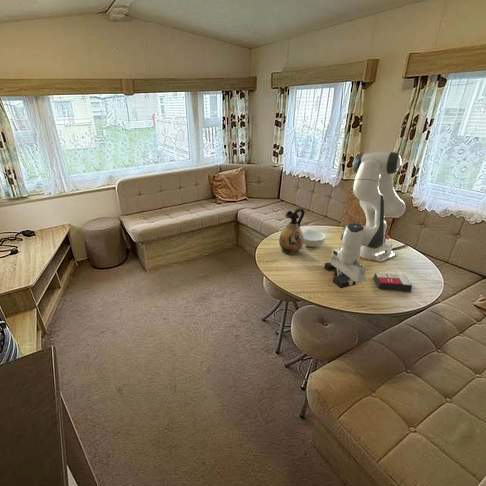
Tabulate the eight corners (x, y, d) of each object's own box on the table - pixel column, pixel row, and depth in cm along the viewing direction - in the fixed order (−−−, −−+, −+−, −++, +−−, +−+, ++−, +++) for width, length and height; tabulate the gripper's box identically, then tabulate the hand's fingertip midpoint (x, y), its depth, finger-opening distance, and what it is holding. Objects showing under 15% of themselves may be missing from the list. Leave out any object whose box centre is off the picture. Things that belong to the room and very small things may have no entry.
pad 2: (353, 277, 155) (354, 272, 154) (362, 283, 150) (363, 278, 148) (332, 282, 151) (333, 277, 150) (340, 288, 146) (341, 283, 145)
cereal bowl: (303, 237, 215) (304, 228, 212) (327, 242, 206) (328, 233, 203) (294, 245, 203) (295, 236, 200) (319, 252, 194) (320, 242, 191)
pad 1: (344, 263, 181) (344, 259, 179) (358, 273, 170) (359, 268, 169) (324, 267, 177) (325, 263, 175) (338, 277, 167) (339, 273, 165)
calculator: (374, 271, 164) (405, 273, 161) (373, 278, 166) (403, 280, 163) (380, 282, 155) (412, 284, 151) (378, 289, 157) (410, 291, 153)
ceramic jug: (285, 258, 188) (289, 213, 174) (274, 247, 201) (277, 205, 188) (309, 254, 192) (315, 210, 178) (296, 244, 205) (301, 202, 192)
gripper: (371, 265, 135) (365, 290, 141) (340, 246, 153) (336, 269, 159) (360, 268, 133) (354, 293, 140) (330, 248, 151) (326, 271, 157)
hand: (344, 280), depth 149 cm, fingers closed on pad 2, 6 cm apart
